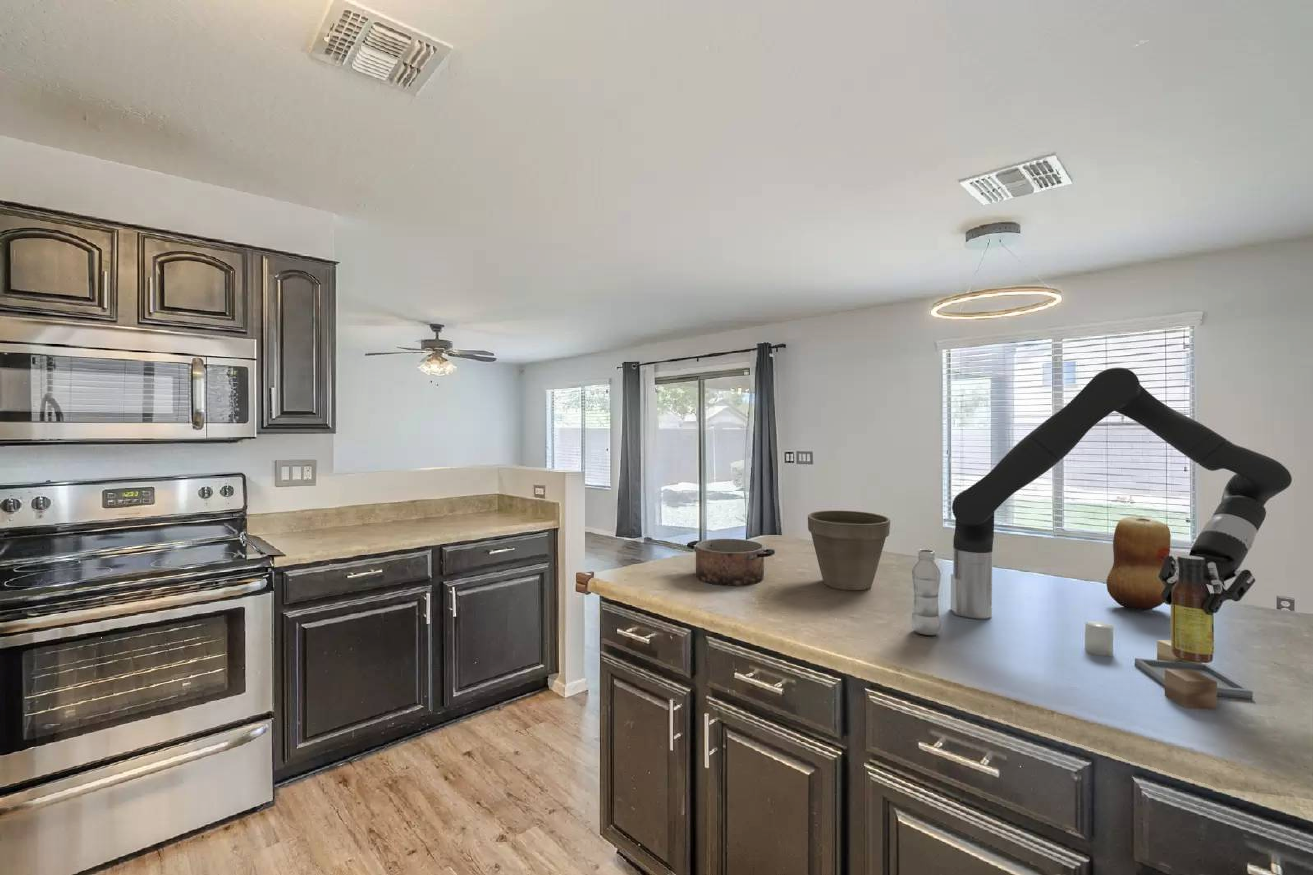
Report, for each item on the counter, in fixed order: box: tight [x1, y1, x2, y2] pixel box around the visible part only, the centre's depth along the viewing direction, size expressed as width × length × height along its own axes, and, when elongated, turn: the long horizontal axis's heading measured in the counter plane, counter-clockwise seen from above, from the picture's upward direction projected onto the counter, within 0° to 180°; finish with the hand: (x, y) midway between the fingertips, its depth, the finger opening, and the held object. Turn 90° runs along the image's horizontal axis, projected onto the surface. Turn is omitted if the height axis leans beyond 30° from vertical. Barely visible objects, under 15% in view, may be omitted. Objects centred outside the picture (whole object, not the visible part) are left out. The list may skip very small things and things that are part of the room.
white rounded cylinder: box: [1084, 620, 1114, 657], centre depth 130 cm, size 5×5×6 cm
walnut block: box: [1164, 669, 1218, 710], centre depth 107 cm, size 5×5×5 cm
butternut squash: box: [1105, 516, 1172, 612], centre depth 160 cm, size 14×13×25 cm
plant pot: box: [807, 510, 891, 591], centre depth 185 cm, size 25×25×22 cm
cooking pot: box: [686, 538, 776, 587], centre depth 194 cm, size 30×22×11 cm
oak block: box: [1156, 639, 1203, 664], centre depth 124 cm, size 6×4×4 cm, turn 94°
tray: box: [1134, 657, 1254, 700], centre depth 115 cm, size 13×13×2 cm
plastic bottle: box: [910, 549, 942, 636], centre depth 142 cm, size 6×7×20 cm
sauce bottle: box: [1170, 554, 1215, 664], centre depth 115 cm, size 7×6×20 cm
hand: (1186, 606), depth 115 cm, fingers closed on sauce bottle, 6 cm apart
